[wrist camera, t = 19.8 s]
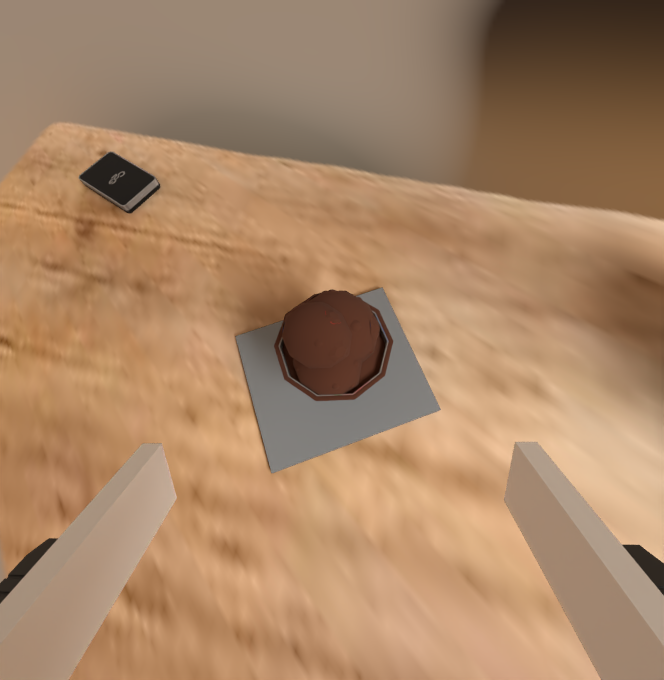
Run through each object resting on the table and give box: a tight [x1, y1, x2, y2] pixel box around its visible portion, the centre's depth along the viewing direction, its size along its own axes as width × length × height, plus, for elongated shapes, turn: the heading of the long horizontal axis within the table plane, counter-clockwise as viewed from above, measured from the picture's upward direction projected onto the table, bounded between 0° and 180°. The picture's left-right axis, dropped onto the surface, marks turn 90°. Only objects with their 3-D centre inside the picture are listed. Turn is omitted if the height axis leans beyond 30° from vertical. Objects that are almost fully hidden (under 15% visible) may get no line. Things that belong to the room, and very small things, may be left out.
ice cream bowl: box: [274, 290, 393, 401], centre depth 33 cm, size 11×11×15 cm
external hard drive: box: [79, 152, 160, 213], centre depth 52 cm, size 7×11×2 cm, turn 55°
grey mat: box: [235, 288, 441, 473], centre depth 40 cm, size 20×17×1 cm
